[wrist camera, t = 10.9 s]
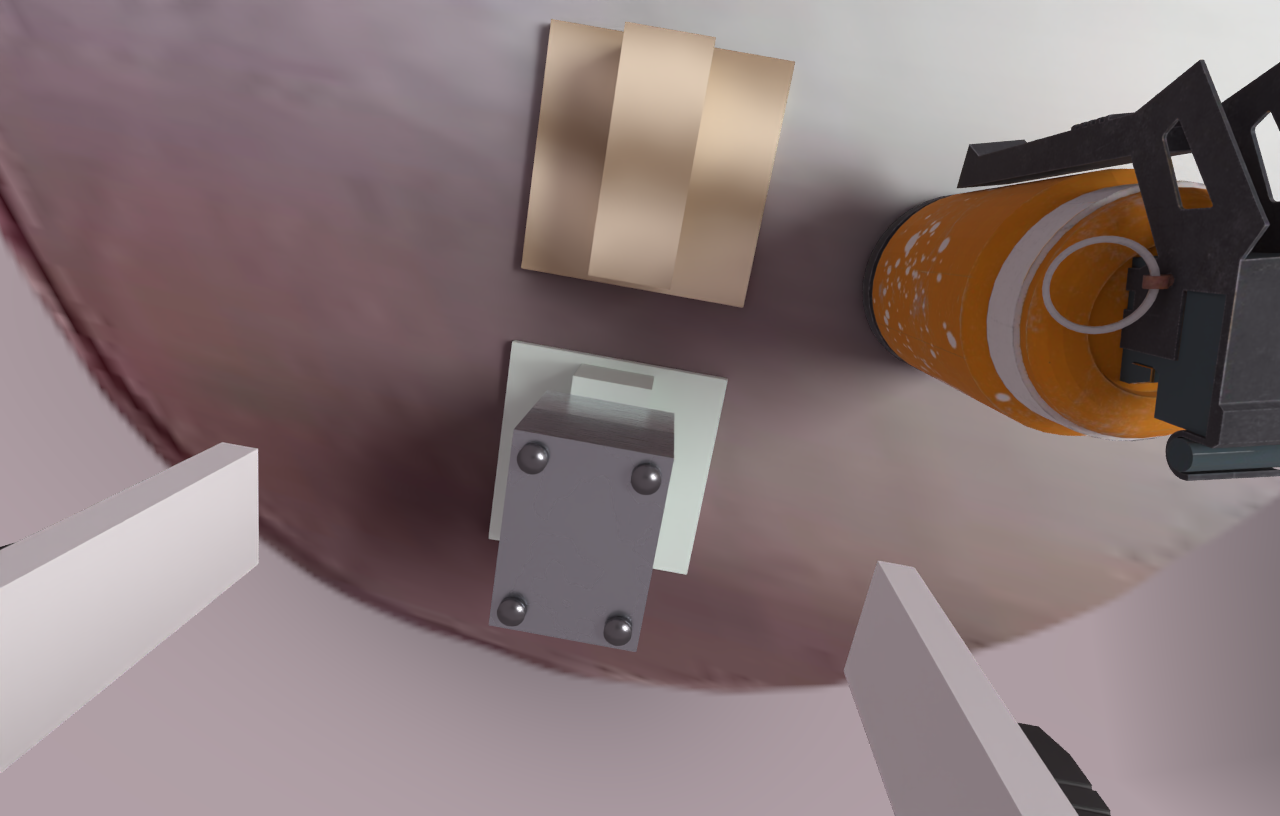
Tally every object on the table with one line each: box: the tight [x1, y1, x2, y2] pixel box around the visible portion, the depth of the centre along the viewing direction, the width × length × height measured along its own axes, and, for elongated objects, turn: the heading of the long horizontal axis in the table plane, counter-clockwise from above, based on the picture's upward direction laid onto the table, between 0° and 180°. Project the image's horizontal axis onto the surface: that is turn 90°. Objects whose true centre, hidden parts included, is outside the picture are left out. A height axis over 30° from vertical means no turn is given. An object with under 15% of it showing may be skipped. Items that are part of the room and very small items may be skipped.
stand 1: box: [521, 19, 795, 308], centre depth 31 cm, size 12×12×4 cm
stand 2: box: [488, 340, 728, 575], centre depth 36 cm, size 12×12×4 cm
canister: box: [863, 60, 1280, 481], centre depth 24 cm, size 9×11×20 cm
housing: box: [489, 390, 674, 652], centre depth 30 cm, size 9×6×7 cm
